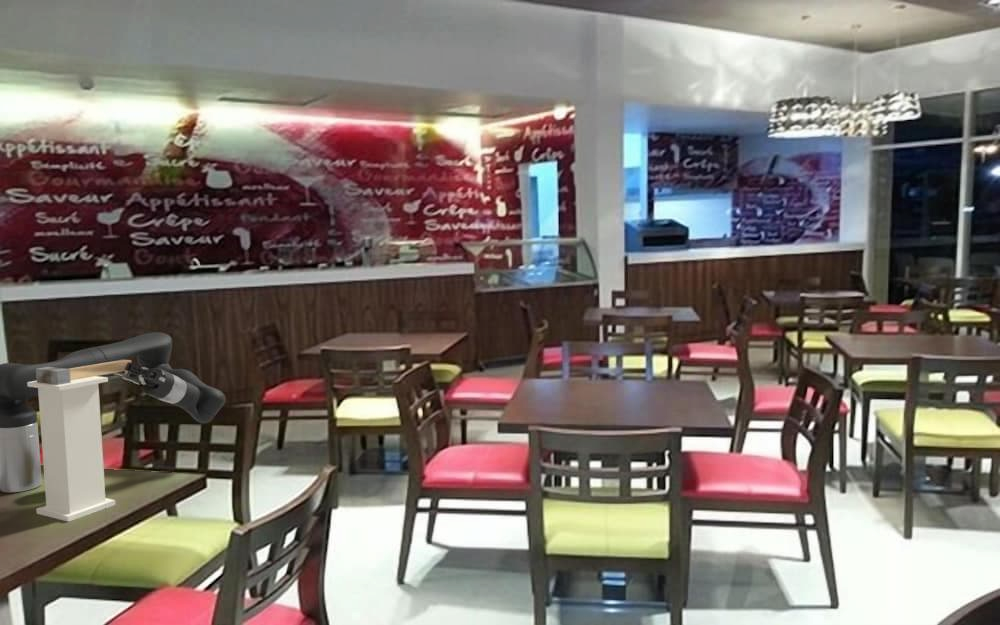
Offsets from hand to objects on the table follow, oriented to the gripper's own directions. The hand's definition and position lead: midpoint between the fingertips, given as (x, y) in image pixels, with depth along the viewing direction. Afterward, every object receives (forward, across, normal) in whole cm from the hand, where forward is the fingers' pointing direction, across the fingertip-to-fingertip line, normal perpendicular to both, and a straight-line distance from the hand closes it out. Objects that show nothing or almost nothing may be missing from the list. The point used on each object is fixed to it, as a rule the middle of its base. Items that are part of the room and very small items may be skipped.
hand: (115, 364), depth 185 cm
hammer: (+5, 0, +5) cm, 7 cm away
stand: (-6, 0, +36) cm, 36 cm away
